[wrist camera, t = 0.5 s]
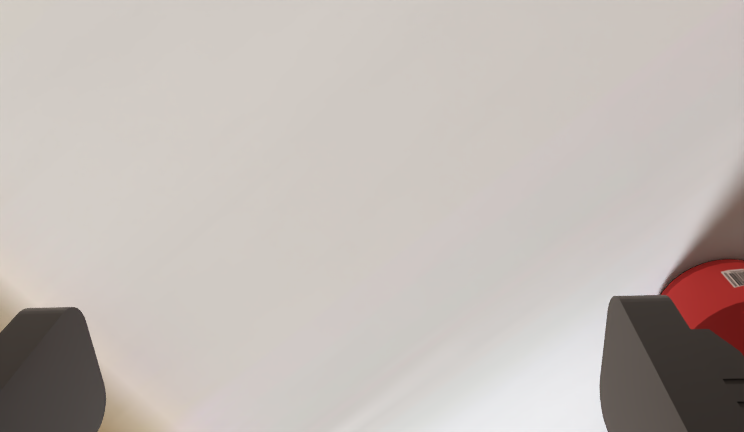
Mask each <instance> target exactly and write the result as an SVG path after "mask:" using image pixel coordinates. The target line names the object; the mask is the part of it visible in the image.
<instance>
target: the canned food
mask: <svg viewBox="0 0 744 432" xmlns="http://www.w3.org/2000/svg"><path fill="white" fill-rule="evenodd" d="M661 295H667V296H668V297H670V298H671V300H672V301H673V303H674V304H675V306H676V307H677V309H678V310H679V312H680V314H681V315H682V317H683V318H684V320H685V321H686V323H687V325H688V326H689V328H690V329H710V330H711V331H712V332H714V333H715V334H717V335H718V336H719V337H721V338H722V339H724V340H725V341H726V342H728V343H729V344H731V345H732V346H733V347H735V348H736V349H738V350H739V351H740V352H741V353H742V355H743V356H744V260H736V259H723V260H715V261H711V262H707V263H703V264H700V265H698V266H695V267H693V268H691V269H689V270H687V271H686V272H684V273H682V274H681V275H679V276H678V277H677V278H676V279H674V280H673V281H672V282H671V283H670V284H669V285H668V286H667V287H666V288H665V290H664V291H663V292H662V294H661Z"/></svg>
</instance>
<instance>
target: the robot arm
mask: <svg viewBox="0 0 744 432" xmlns="http://www.w3.org/2000/svg"><path fill="white" fill-rule="evenodd" d="M600 401H601V408H602V414H603V418H604V422H605V425H606V428H607V430H608V432H744V356H743V355H742V353H741V352H740V351H739V350H738V349H736V348H735V347H733V346H732V345H731V344H729V343H728V342H726V341H725V340H724V339H722V338H721V337H719V336H718V335H717V334H715V333H714V332H712V331H711V330H710V329H690V328H689V326H688V325H687V323H686V321H685V320H684V318H683V317H682V315H681V314H680V312H679V310H678V309H677V307H676V306H675V304H674V303H673V301H672V300H671V298H670V297H668V296H667V295H644V296H613V297H612V298H611V300H610V303H609V307H608V313H607V322H606V331H605V340H604V349H603V357H602V366H601V375H600ZM105 405H106V392H105V386H104V382H103V379H102V375H101V372H100V368H99V365H98V361H97V358H96V354H95V351H94V347H93V344H92V341H91V337H90V334H89V330H88V327H87V323H86V320H85V317H84V316H83V314H82V312H81V311H80V310H79V309H78V308H75V307H60V308H27V309H23V310H22V311H20V312H19V313H18V314H17V315H16V316H15V317H14V318H13V320H12V321H11V322H10V323H9V324H8V325H7V326H6V327H5V328H4V329H3V331H2V332H1V333H0V432H97V431H98V429H99V427H100V425H101V423H102V420H103V416H104V412H105Z"/></svg>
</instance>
